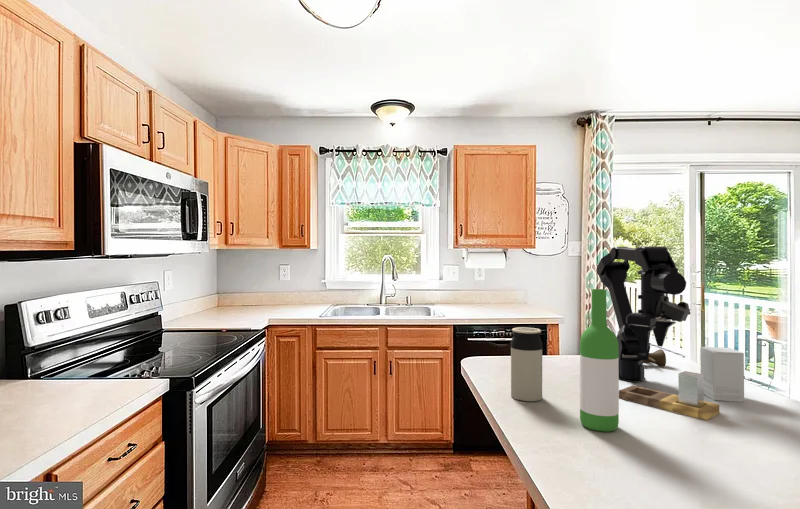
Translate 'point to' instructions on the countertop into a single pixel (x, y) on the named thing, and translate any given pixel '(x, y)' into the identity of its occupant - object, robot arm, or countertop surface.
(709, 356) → the supplement box
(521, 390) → the travel mug
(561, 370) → the countertop surface
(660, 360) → the kendama
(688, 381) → the peg
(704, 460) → the countertop surface
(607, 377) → the wine bottle
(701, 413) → the wooden slotted board
